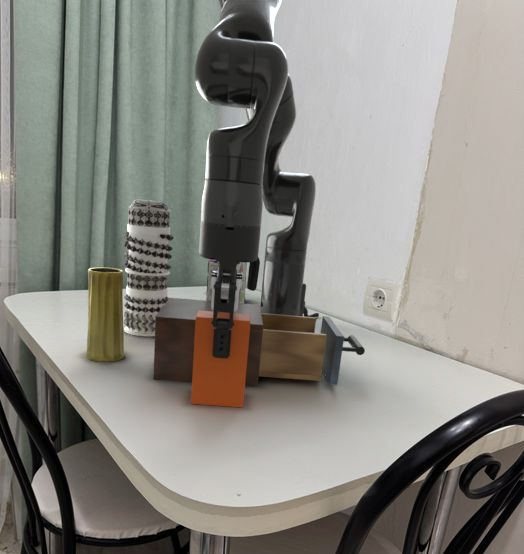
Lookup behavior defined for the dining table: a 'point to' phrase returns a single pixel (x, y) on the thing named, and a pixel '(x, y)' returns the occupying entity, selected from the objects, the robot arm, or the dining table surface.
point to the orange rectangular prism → (220, 362)
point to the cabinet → (181, 334)
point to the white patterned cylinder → (146, 265)
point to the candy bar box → (213, 266)
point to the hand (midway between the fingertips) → (221, 350)
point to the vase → (105, 315)
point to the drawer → (302, 348)
